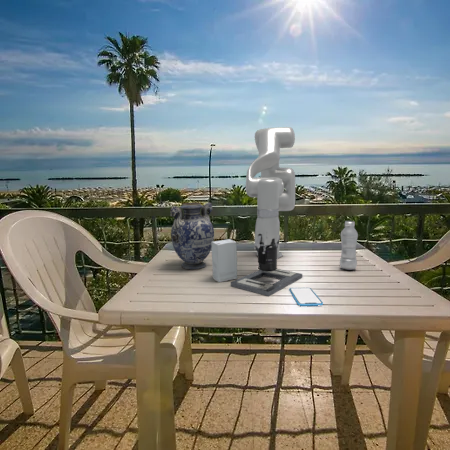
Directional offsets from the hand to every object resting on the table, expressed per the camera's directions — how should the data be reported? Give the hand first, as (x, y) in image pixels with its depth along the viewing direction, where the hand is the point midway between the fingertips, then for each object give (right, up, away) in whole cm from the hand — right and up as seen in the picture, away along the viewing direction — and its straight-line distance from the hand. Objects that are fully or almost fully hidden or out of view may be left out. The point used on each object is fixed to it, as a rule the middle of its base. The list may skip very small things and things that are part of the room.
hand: (267, 260), depth 118 cm
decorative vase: (-30, -5, +22) cm, 37 cm away
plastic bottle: (+35, -5, +14) cm, 38 cm away
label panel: (0, -8, 0) cm, 8 cm away
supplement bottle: (0, -3, +1) cm, 3 cm away
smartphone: (+10, -11, -15) cm, 21 cm away
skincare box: (-16, -8, +5) cm, 18 cm away
